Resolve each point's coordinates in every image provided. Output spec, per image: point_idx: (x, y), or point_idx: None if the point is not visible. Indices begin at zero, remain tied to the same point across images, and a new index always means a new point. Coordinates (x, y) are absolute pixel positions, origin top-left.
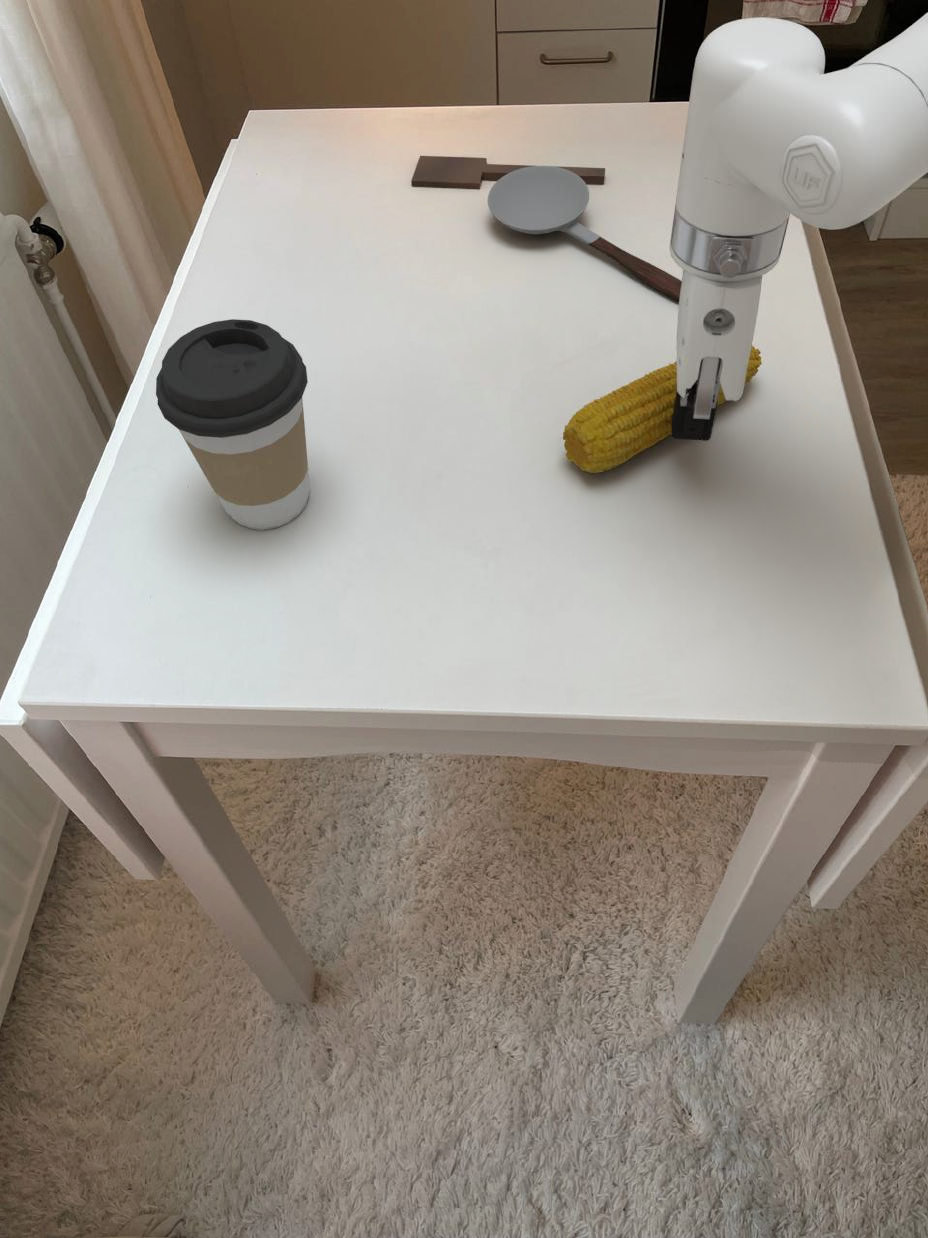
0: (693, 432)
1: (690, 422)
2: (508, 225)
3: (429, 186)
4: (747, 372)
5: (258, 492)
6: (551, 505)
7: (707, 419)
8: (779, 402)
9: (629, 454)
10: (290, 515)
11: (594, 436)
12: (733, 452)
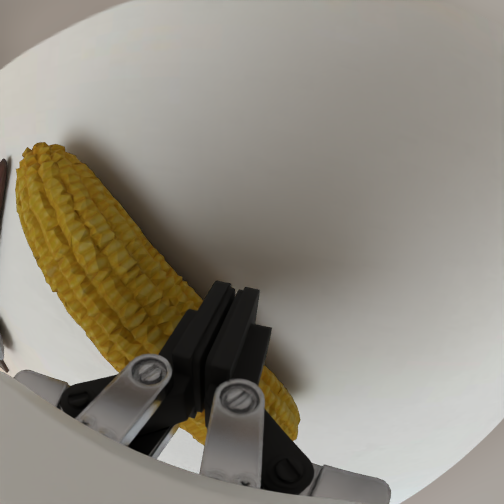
0: (267, 347)
1: (260, 376)
2: (3, 354)
3: (4, 363)
4: (62, 174)
5: None
6: (323, 418)
7: (244, 339)
8: (107, 94)
9: (274, 385)
10: None
11: None
12: (231, 186)
